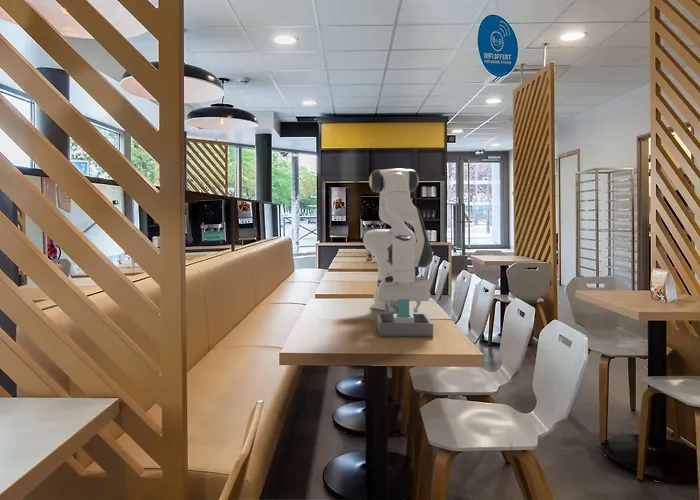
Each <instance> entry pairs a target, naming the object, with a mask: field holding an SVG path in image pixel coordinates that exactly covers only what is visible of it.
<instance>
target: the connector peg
mask: <svg viewBox="0 0 700 500" xmlns="http://www.w3.org/2000/svg"><path fill="white" fill-rule="evenodd" d="M409 314H410V301H409V299H399V301H398V317H409Z"/></svg>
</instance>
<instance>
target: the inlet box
mask: <svg viewBox="0 0 700 500" xmlns="http://www.w3.org/2000/svg"><path fill="white" fill-rule="evenodd" d="M376 327H377V332H378V337H379V338H434V323H433V322H432V320H431V319H430V318H429V316H428V315H427V314H426V313H409V317H398V314H385V313H376Z"/></svg>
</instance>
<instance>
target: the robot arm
mask: <svg viewBox="0 0 700 500" xmlns="http://www.w3.org/2000/svg"><path fill="white" fill-rule="evenodd" d="M419 181H420V180H419V175H418V173H417V171H416V170H415V169H412V168H387V169H386V168H385V169H380V168H378V169H375V170H374V169H373V170H372V172H370V176H369V180H368V184H369V187H370V190H371V191H372V192H373V193H377V194H379V198H378V199H379V200H378V201H379V202H378V203H379V204H378V205H379V206H378V209H379V210H378V217H379V219H380V220H381V222H383V223H385V224H387V225H389V226H390V227H391V228H383V229H382V228H381V229H380V228H375V229H371V230H367V231H366V232H365V234H364V235H363V239H362V242H363V246H364V247H365V249H366V250H367V251H369V253H370V254H372V255H373V257H374V259H375V261H376V263H377V272H378V273H377V274H378V277H377V281H376V284H377V285H376V287H377V288H376V289H375V291H374V292H373V295H372V296H373V303H371V305H370V309H374V310H380V311H385V301H387V305H388V307H389V311H390V313H393V307H391V306H390V305H389V304H391V301H399V299H409V302H416V306H414V307H413V313H414V314H419V307H420V305H421V304H422V303H421V302H428V301H429V300H430V299H431V293H430V287H431V280H430V278H427V277H426V276H423V277H420V276H416V268H424V269H425V268H427V267H428V266H430V264H431V263H432V262H433V258H434V254H433V250H432V246H431V244H430V241H429V238H428V234H427V231H426V227H425V223H424V220H423V216H422V213H421V211H420V209H419V208H418V207H417V206H415V205H414V203H413V201H412V199H411V193H412V192H415V191H416V190H417V189H418V185H419ZM405 222H406V223H407V224H409V225H410V226H412V228H413V230H414V232H413V230H411V229H410V228H409V227H408V226H407V225H406V223H405Z"/></svg>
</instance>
